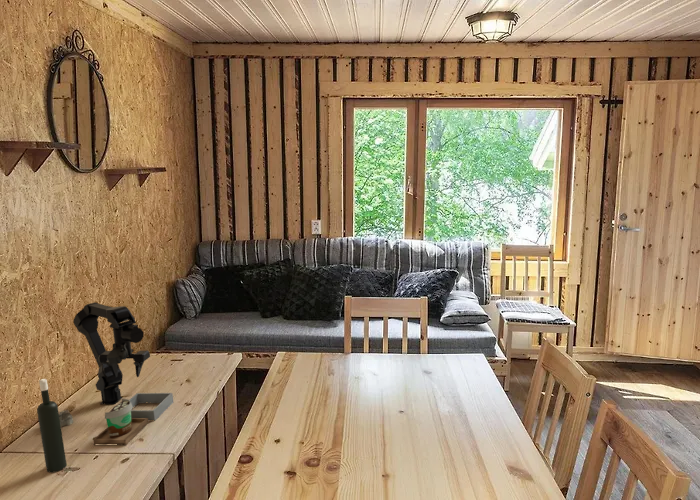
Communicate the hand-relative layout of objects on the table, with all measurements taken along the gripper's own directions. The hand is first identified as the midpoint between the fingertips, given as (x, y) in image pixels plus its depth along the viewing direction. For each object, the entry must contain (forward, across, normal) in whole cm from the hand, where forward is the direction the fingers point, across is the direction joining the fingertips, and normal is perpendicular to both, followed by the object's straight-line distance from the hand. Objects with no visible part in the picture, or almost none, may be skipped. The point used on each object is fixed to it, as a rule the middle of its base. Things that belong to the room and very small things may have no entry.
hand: (127, 376), depth 221 cm
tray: (+13, +8, -21) cm, 26 cm away
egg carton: (+14, -22, -15) cm, 30 cm away
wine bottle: (+13, -1, -44) cm, 46 cm away
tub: (+13, +8, -3) cm, 16 cm away
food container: (+12, +10, -21) cm, 26 cm away
